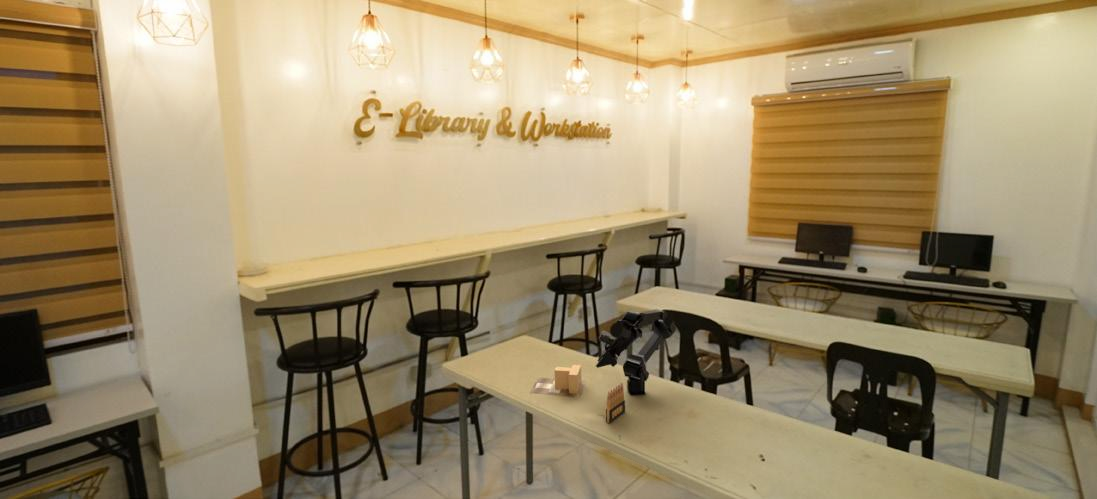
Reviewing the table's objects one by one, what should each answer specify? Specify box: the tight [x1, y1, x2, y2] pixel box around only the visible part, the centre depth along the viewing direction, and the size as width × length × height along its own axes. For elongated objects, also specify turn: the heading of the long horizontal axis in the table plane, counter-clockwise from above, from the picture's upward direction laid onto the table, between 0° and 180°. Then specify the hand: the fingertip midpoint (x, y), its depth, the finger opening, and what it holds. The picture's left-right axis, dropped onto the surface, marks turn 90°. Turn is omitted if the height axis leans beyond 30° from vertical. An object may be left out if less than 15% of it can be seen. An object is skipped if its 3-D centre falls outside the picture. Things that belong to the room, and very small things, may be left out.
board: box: [529, 377, 587, 398], centre depth 217 cm, size 21×15×2 cm
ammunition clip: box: [605, 382, 626, 424], centre depth 192 cm, size 11×2×12 cm, turn 140°
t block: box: [554, 364, 582, 394], centre depth 215 cm, size 10×10×8 cm
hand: (597, 364), depth 211 cm, fingers open, 5 cm apart
